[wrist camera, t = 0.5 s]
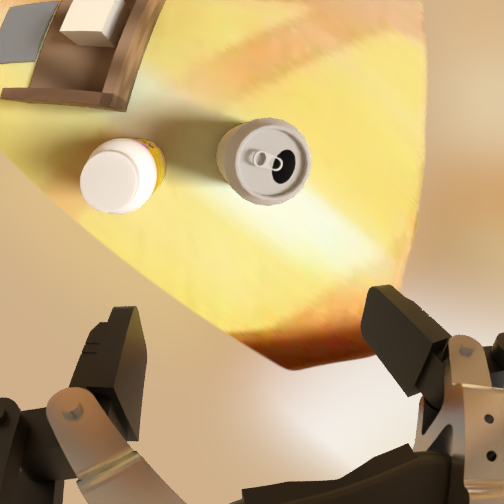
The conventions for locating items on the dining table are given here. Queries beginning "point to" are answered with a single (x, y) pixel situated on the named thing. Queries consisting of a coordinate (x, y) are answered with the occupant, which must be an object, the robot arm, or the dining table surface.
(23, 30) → the slate mat
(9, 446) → the robot arm
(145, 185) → the supplement bottle
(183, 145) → the dining table surface
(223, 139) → the can
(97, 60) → the walnut box
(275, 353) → the dining table surface
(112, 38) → the cream block
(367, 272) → the dining table surface
